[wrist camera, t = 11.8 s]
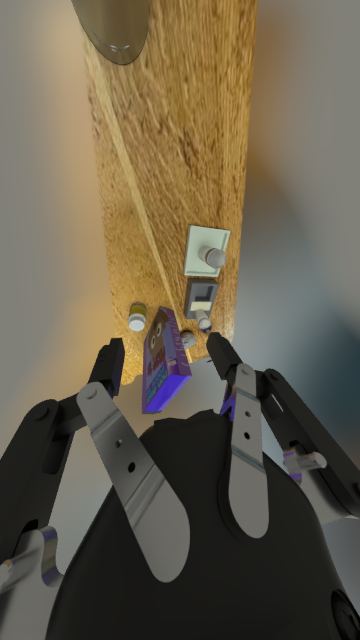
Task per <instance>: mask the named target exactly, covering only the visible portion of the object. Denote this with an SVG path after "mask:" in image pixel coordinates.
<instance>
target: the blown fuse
mask: <svg viewBox="0 0 360 640" xmlns="http://www.w3.org/2000/svg"><path fill="white" fill-rule="evenodd" d="M198 257H199V259H200V260H202V261H203V262H205V263H206V264H207V265H209V266H210V267H212V268H214V269H219V268H221V267H222V266H223V265H224V263H225V261H226V254H225V252H224V251H222V250H219V249H216V248H212V247H209V246H202V247H201V248H200V249H199V252H198Z"/></svg>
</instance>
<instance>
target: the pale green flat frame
mask: <svg viewBox="0 0 360 640" xmlns="http://www.w3.org/2000/svg"><path fill="white" fill-rule="evenodd" d="M230 232H231V231H227V230H220V229H213V228H206V227H199V226H192V225H189V227H188V235H187V243H186V251H185V260H184V268H183V274H184V275H192V276H212V277H218V274H219V271H220V268H219V269H214V268H212V267H210V266H209V265H207V264H206V263H205V262H203V261H202V260H200V259H199V257H198V252H199V249H200V248H201V247H202V246H209V247H212V248H216V249H219V250H222V251H224V252H225V249H226V246H227V242H228V239H229V235H230Z"/></svg>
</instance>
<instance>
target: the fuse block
mask: <svg viewBox="0 0 360 640" xmlns="http://www.w3.org/2000/svg"><path fill="white" fill-rule="evenodd" d="M218 287H219V284H218V283H217V282H216V281H215V280H214V279H193V278H189V280H188V287H187V294H186V300H185V307H184V314H185V317H186V319H196V321H197V323H198V326H199V328H201V329H206V328H208V327H209V326H210V325H211V321H210V319H209V317H210V313H211V310H212V307H213V303H214V300H215V297H216V293H217V290H218Z"/></svg>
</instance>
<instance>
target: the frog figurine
mask: <svg viewBox="0 0 360 640" xmlns="http://www.w3.org/2000/svg"><path fill="white" fill-rule="evenodd" d="M181 339H182V343H183V346H184V349H185V350H186V349H187V348H190V347H192V346H193V345H194V344H195V343H196V339H195V336H194V335H193V334H191V333H190V332H185V333H183V334H182V336H181Z"/></svg>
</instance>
